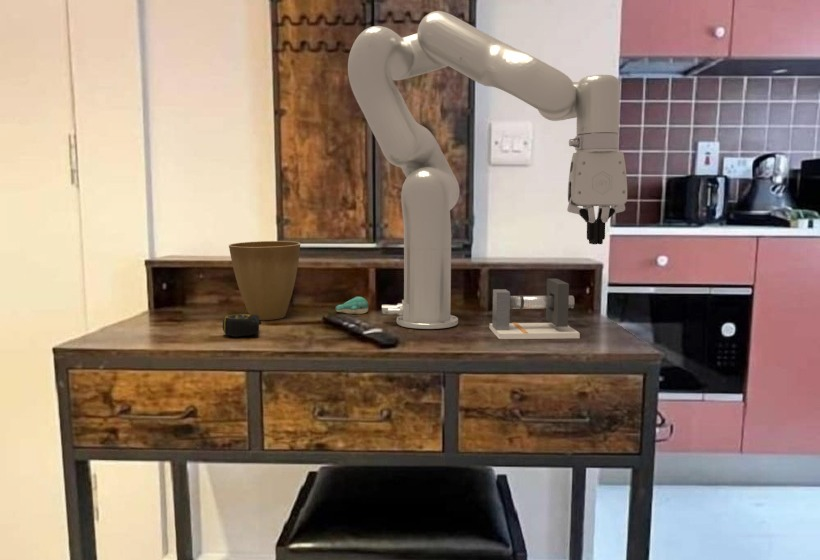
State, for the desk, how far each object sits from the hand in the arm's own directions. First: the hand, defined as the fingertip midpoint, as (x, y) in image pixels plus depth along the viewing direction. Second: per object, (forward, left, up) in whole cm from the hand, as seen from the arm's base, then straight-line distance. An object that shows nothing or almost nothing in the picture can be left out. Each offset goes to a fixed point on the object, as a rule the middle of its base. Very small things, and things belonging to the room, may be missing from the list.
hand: (595, 243), depth 124 cm
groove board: (-12, 0, -17) cm, 21 cm away
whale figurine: (-47, +24, -18) cm, 56 cm away
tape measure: (-66, +1, -18) cm, 68 cm away
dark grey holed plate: (-7, 0, -15) cm, 17 cm away
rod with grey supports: (-12, 0, -17) cm, 21 cm away
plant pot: (-65, +19, -17) cm, 70 cm away
